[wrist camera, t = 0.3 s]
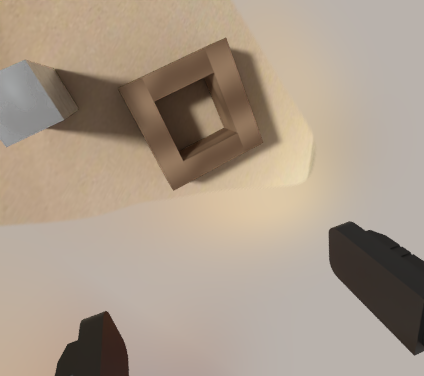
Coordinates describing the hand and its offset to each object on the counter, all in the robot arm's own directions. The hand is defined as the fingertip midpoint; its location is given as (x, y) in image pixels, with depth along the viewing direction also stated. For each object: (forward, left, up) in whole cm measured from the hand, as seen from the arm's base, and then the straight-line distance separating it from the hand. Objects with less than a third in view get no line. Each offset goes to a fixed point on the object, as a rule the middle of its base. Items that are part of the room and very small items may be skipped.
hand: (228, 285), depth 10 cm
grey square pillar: (-9, -7, -28) cm, 30 cm away
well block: (-1, +6, -28) cm, 29 cm away
